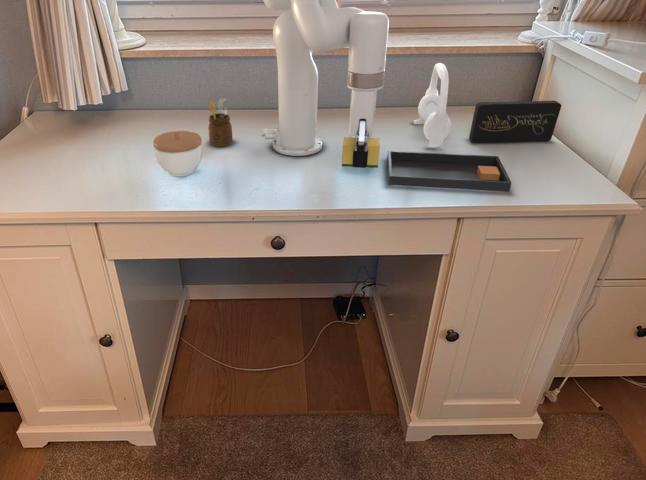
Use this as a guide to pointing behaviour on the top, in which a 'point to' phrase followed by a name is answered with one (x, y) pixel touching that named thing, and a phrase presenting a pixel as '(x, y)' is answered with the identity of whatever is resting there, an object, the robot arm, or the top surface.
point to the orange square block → (488, 173)
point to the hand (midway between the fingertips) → (359, 161)
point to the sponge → (372, 149)
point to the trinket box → (178, 152)
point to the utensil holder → (219, 127)
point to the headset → (435, 108)
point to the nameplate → (514, 121)
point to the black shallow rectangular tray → (444, 171)
